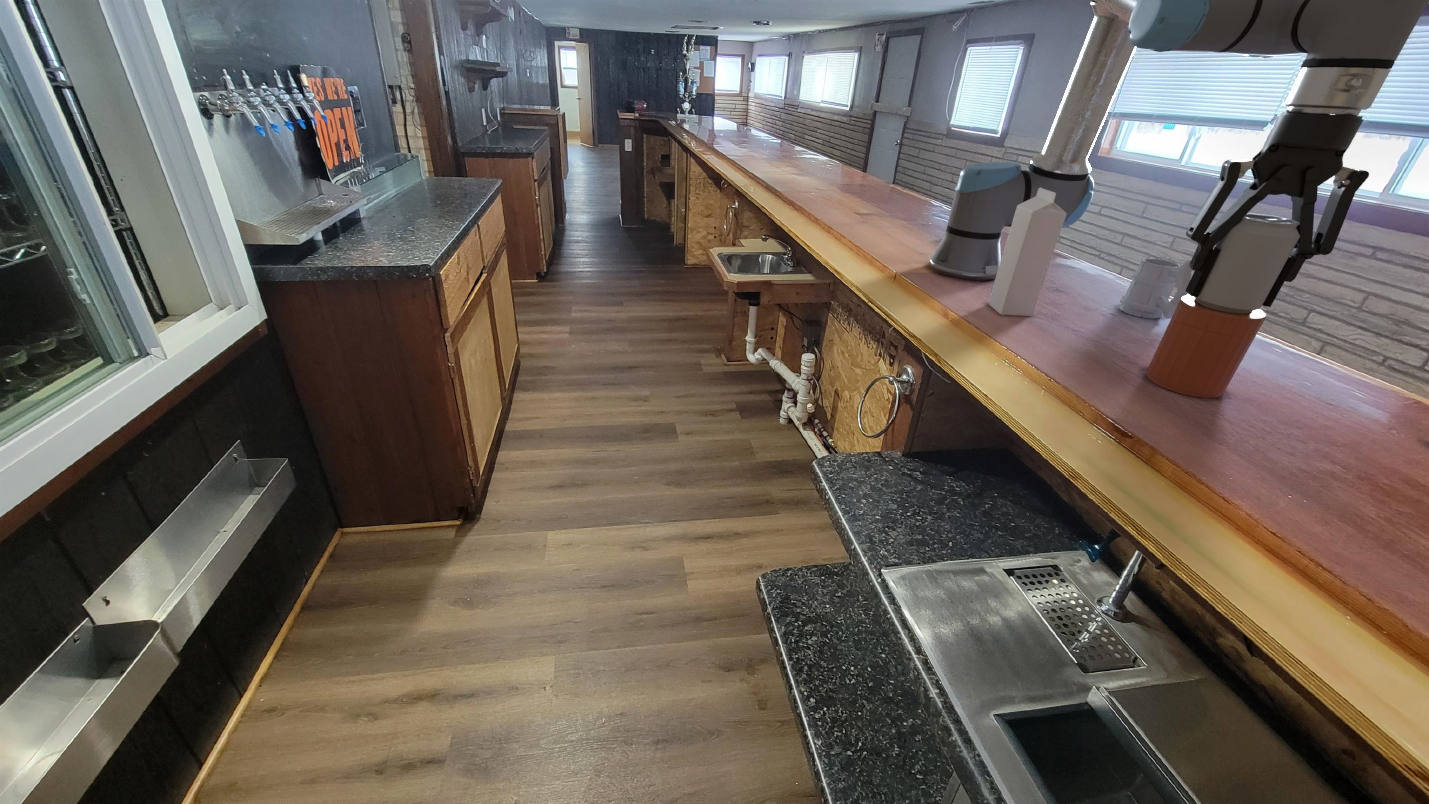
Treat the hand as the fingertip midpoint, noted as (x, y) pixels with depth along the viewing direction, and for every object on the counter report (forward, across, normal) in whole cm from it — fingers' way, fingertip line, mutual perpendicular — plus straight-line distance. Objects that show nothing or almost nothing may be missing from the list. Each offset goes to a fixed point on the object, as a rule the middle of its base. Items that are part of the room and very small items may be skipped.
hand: (1226, 298), depth 77 cm
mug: (+13, +2, +32) cm, 35 cm away
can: (+1, 0, 0) cm, 1 cm away
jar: (+13, 0, 0) cm, 13 cm away
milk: (+13, -23, +22) cm, 35 cm away
